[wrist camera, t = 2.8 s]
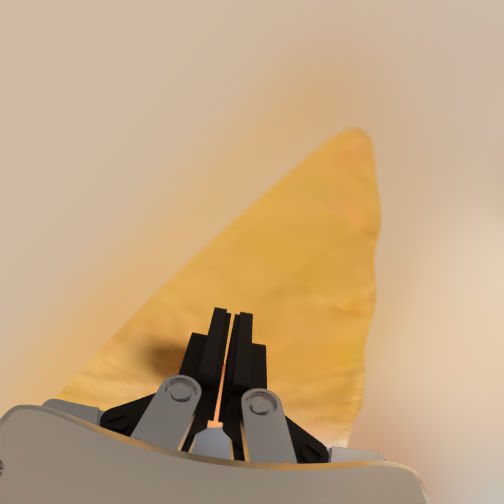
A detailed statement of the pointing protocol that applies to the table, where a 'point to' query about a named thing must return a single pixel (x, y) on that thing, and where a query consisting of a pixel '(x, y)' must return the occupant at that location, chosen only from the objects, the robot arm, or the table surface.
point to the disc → (212, 443)
